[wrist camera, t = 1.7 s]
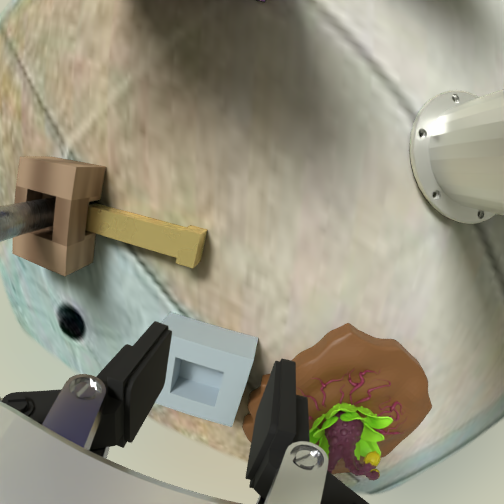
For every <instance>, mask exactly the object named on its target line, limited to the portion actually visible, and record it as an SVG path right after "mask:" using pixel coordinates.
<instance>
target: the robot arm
mask: <svg viewBox="0 0 504 504" xmlns="http://www.w3.org/2000/svg"><path fill="white" fill-rule="evenodd" d="M452 99H453V100H452ZM418 132H420V133H421V137H420V136H419V134H418ZM410 159H411V164H412V169H413V173H414V176H415V178H416V181H417V183H418V186H419V188H420V190H421V191H422V193H423V195H424V196H425V198H426V199H427V200H428V202H429V203H430V204H431V205H432V206H433V208H435V209H436V210H437V211H438V212H439V213H441V214H442V215H444V216H446V217H447V218H449V219H451V220H454V221H457V222H460V223H467V224H475V223H481V222H483V221H486V220H488V219H490V218H491V217H493V216H494V215H496V214H499V215H503V216H504V89H503V90H500V91H497V92H494V93H491V94H488V95H485V96H483V97H478V96H476V95H474V94H471V93H469V92H464V91H448V92H444V93H441V94H439V95H437V96H435V97H433V98H432V99H430V100H429V101H428V102H427V103H425V105H424V106H423V107H422V108H421V110H420V111H419V112H418V114H417V117H416V119H415V121H414V123H413V127H412V131H411V136H410ZM433 192H434V194H435V195H434V197H433ZM168 329H169V328H168V325H165V324H162V323H159V322H154V323H153V324H152V325H151V326H150V327H149V328H148V329H147V331H146V332H145V333H144V334H143V335H142V336H141V337H140V338H139V340H138V341H137V342H136V343H135V344H134V345H133V346H131V345H128V344H127V345H125V346H124V347H123V348H122V349H121V350H120V351H119V352H118V353H117V355H116V356H115V357H114V358H113V359H112V360H111V361H110V362H109V363H108V364H107V366H106V367H105V368H104V369H103V370H102V371H101V372H100V373H99V374H98V376H97V377H95V376H92V375H87V374H79V375H75V376H73V377H71V378H69V380H68V381H67V382H66V383H65V385H64V387H63V389H62V390H49V391H33V392H16V393H10V394H8V395H6V396H5V397H4V398H1V397H0V504H241V503H236V502H231V501H227V500H223V499H219V498H215V497H211V496H208V495H204V494H200V493H197V492H193V491H190V490H186V489H183V488H180V487H177V486H174V485H171V484H168V483H165V482H162V481H159V480H156V479H154V478H151V477H148V476H146V475H143V474H140V473H138V472H135V471H133V470H131V469H128V468H126V467H123V466H121V465H119V464H116V463H114V462H112V461H110V460H107V459H106V458H107V455H108V451H109V447H110V446H115V445H118V446H120V447H124V446H125V444H126V442H127V441H128V442H132V441H133V440H134V438H135V436H136V434H137V433H138V431H139V429H140V427H141V426H142V424H143V422H144V420H145V419H146V417H147V415H148V414H149V412H150V410H151V408H152V407H153V405H154V403H155V401H156V400H157V398H158V396H159V394H160V393H161V391H162V389H163V387H164V384H165V379H166V372H167V365H168V358H169V351H170V344H171V338H172V331H171V330H168ZM327 468H328V456H327V454H326V452H325V451H324V450H323V449H322V448H321V447H319V446H318V445H316V444H313V443H311V442H310V437H309V414H308V399H307V397H305V396H300V395H296V362H294V361H290V360H286V359H281V361H280V362H279V361H275V363H274V366H273V369H272V371H271V374H270V377H269V380H268V382H267V385H266V388H265V391H264V393H263V396H262V399H261V401H260V404H259V406H258V409H257V413H256V417H255V423H254V430H253V436H252V442H251V448H250V454H249V460H248V467H247V472H246V479H250V480H251V481H250V488H254V490H255V491H256V492H257V493H258V494H259V495H260V496H259V498H258V501H257V503H256V504H369V503H367V502H366V501H365V500H364V499H363V498H361V497H360V496H359V495H357V494H356V493H355V492H353V491H352V490H351V489H350V488H348V487H347V486H346V485H345V484H343V483H342V482H341V481H340V480H338V479H337V478H336V477H335V476H333V475H332V474H331V473H330V472H329V471H327Z"/></svg>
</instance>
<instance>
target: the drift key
mask: <svg viewBox="0 0 504 504" xmlns="http://www.w3.org/2000/svg"><path fill="white" fill-rule="evenodd" d="M85 230H86V231H90V232H93V233H96V234H99V235H102V236H106V237H109V238H112V239H116V240H119V241H122V242H125V243H129V244H132V245H135V246H139V247H142V248H145V249H149V250H152V251H155V252H159V253H162V254H166V255H169V256H172V257H176V258H177V259H176V264H180V265H183V266H186V267H190V268H194V267H195V266H196V265H197V264H198V263H199V262H200V261H201V257H202V252H203V247H204V243H205V238H206V234H207V229H203V228H199V227H195V226H192V225H190V226H188V227H183V226H179V225H175V224H172V223H168V222H164V221H160V220H157V219H153V218H149V217H145V216H142V215H138V214H134V213H130V212H126V211H123V210H119V209H115V208H111V207H107V206H104V205H100V204H91V205H88V212H87V220H86V229H85Z"/></svg>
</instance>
